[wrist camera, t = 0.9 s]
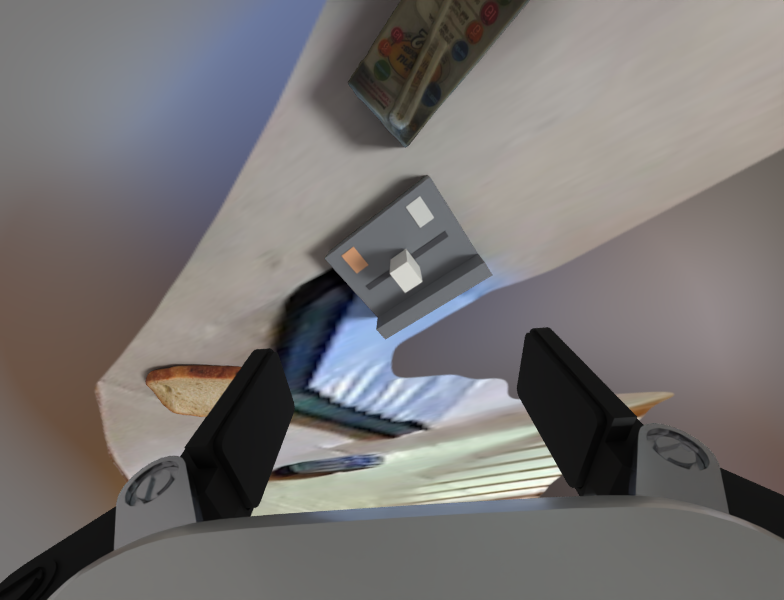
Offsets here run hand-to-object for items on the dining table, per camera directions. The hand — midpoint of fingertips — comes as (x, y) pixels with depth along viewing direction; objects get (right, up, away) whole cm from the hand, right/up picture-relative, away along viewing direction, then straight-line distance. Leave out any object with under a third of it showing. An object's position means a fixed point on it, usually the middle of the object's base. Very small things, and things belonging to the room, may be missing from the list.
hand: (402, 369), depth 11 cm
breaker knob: (+1, +7, +24) cm, 26 cm away
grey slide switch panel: (+1, +9, +27) cm, 29 cm away
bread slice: (-34, -12, +40) cm, 54 cm away
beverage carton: (+5, +29, +17) cm, 34 cm away
